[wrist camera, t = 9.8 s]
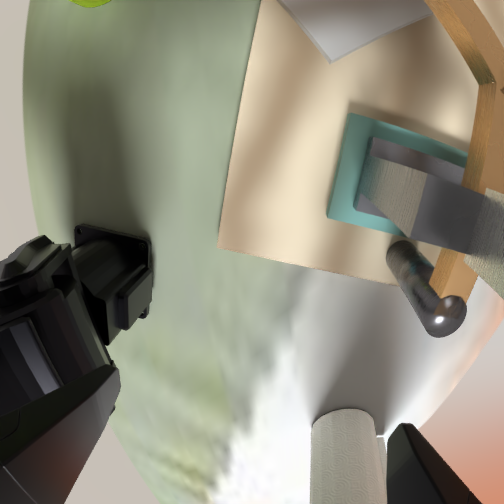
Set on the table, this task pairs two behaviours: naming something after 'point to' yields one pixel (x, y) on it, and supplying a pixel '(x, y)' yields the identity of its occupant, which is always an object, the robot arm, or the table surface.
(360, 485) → the paper towel roll
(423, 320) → the wooden crank handle
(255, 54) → the beige rectangular panel
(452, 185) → the grey boxy piece
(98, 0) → the soap dispenser
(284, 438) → the table surface
